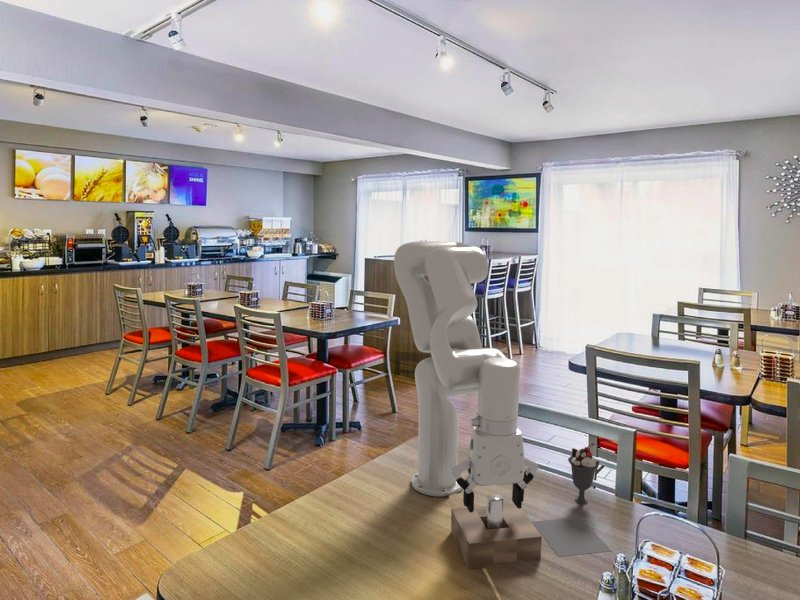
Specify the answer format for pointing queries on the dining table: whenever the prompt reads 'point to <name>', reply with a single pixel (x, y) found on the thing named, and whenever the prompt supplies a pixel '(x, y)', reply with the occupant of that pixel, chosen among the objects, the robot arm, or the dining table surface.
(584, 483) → the sundae
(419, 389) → the robot arm
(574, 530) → the mat
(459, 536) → the hole block
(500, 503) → the peg
